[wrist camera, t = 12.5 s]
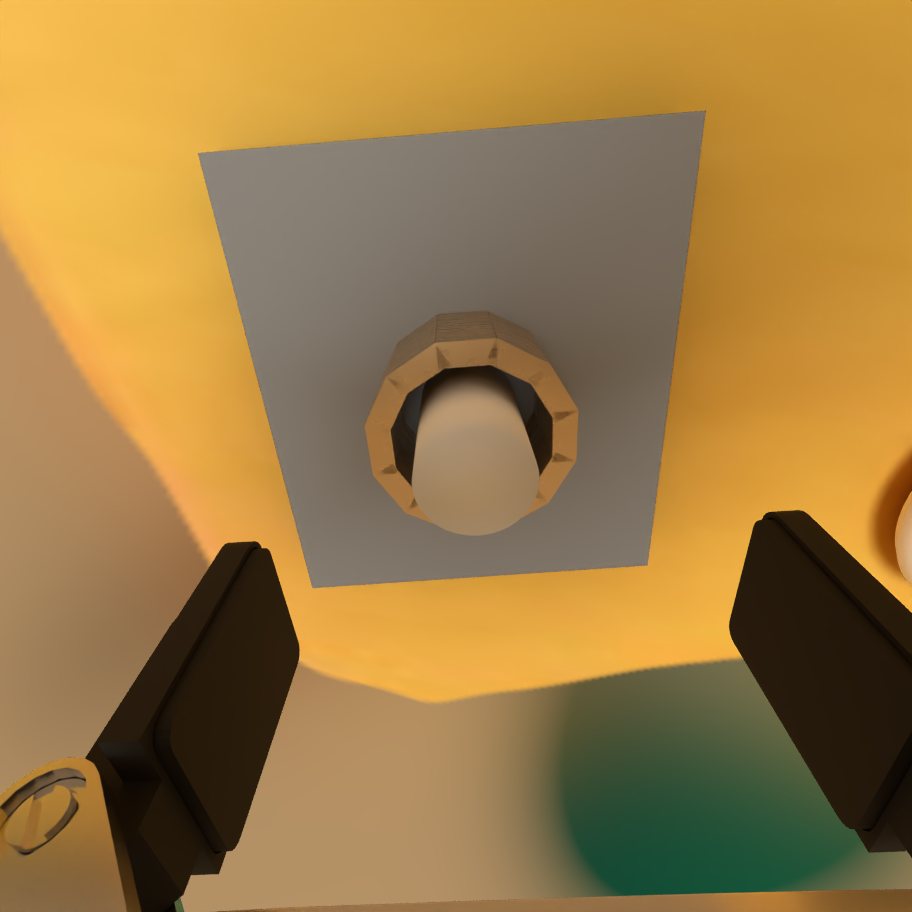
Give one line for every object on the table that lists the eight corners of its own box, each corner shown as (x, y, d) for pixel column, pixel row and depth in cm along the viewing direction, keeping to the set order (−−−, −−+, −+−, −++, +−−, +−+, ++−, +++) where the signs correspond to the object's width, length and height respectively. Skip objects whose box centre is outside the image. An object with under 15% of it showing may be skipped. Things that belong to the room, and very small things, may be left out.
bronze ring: (369, 319, 19) (351, 349, 15) (555, 304, 18) (581, 331, 15) (393, 479, 22) (383, 536, 18) (552, 468, 22) (573, 522, 18)
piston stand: (222, 157, 18) (59, 130, 10) (679, 118, 18) (854, 63, 10) (321, 561, 26) (271, 710, 19) (633, 539, 26) (710, 682, 18)
